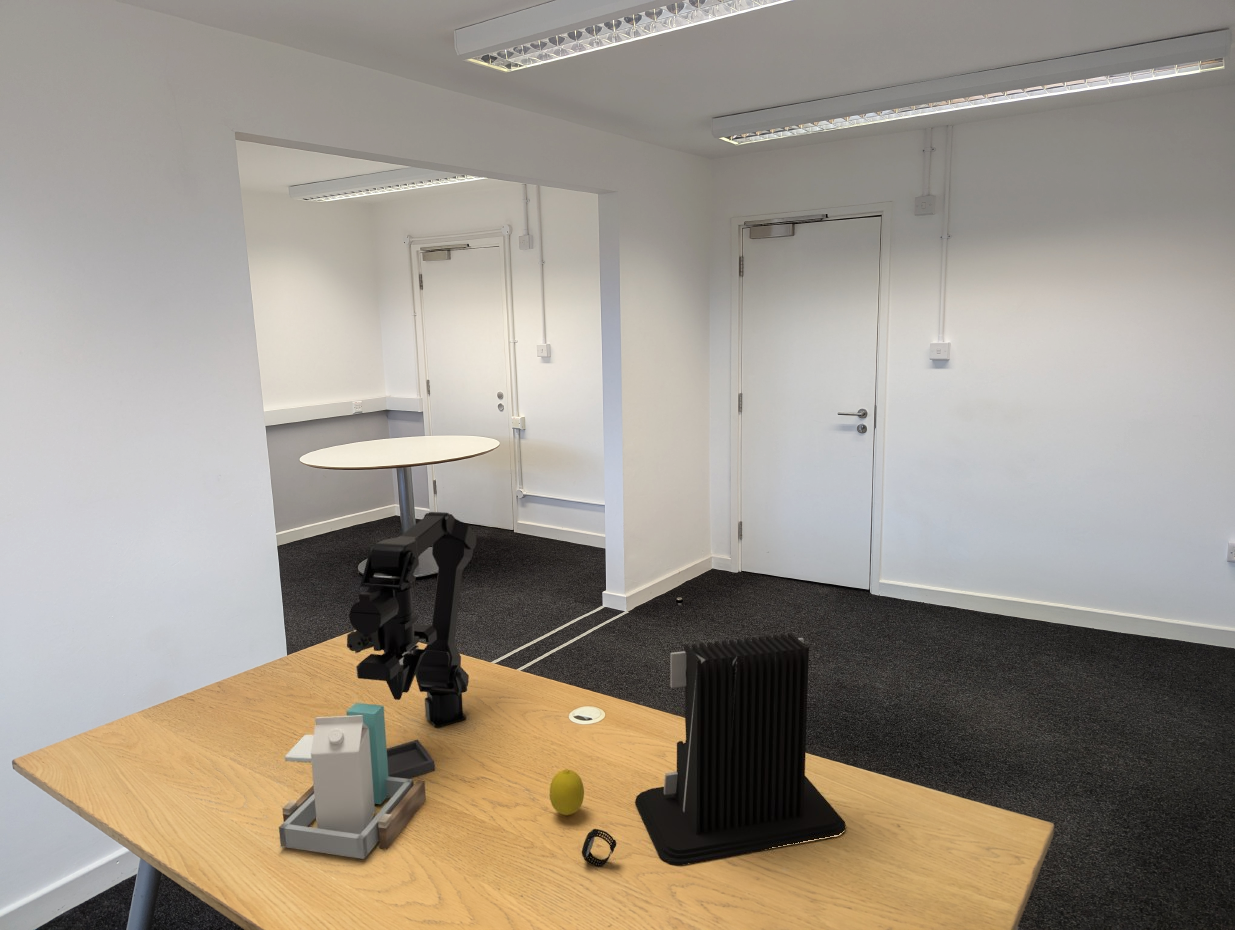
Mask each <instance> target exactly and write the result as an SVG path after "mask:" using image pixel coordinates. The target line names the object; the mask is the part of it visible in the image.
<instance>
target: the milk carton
mask: <svg viewBox="0 0 1235 930" xmlns="http://www.w3.org/2000/svg"><path fill="white" fill-rule="evenodd" d="M314 721H315V722H314V723H315V726H314V731H313V735H314V737H313V743H312V749H311V762H310V763H311V770H312V771H311V772H312V781H313V782H312V783H313V784H312V786H313V785H314V796H315V808H316V818H315V819H316V828H319V829H326V830H333V831H340V832H347V833H354V834H361V833H362V832H363V830H364V829H365V828H366V827H367V826H368V825H369V823H370V822H371V821H372V820H373V819H374V817H375V813H376V811H375V809H376V808H375V803H374V793H373V779H372V765H371V752H370V738H369V728H368V727H367V726H366V724H365V723H364V722H363V717H362V715H356V716H347V715H340V716H339V715H337V716H321V717H315V718H314Z"/></svg>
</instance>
